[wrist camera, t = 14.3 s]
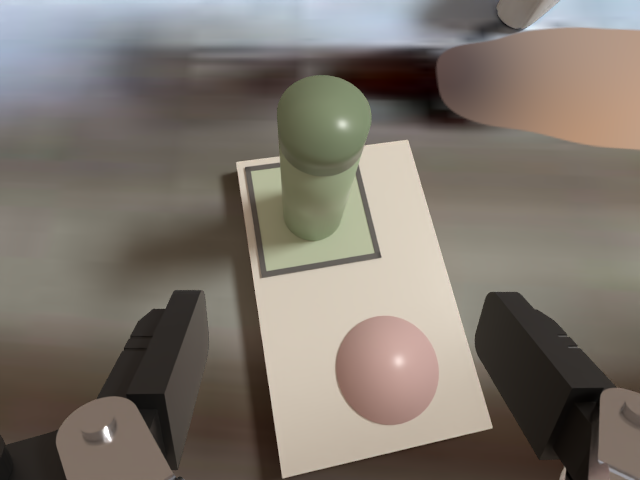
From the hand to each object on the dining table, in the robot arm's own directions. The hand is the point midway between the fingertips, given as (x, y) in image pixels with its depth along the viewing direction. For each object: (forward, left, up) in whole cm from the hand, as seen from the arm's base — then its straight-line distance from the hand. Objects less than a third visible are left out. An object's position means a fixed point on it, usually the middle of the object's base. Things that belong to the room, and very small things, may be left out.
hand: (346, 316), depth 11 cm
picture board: (-4, -4, -18) cm, 19 cm away
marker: (-2, -10, -16) cm, 19 cm away
